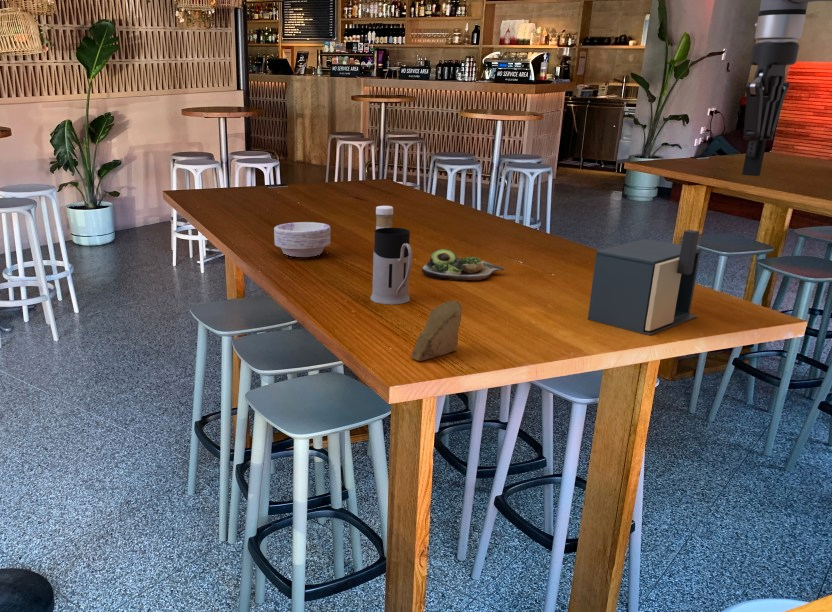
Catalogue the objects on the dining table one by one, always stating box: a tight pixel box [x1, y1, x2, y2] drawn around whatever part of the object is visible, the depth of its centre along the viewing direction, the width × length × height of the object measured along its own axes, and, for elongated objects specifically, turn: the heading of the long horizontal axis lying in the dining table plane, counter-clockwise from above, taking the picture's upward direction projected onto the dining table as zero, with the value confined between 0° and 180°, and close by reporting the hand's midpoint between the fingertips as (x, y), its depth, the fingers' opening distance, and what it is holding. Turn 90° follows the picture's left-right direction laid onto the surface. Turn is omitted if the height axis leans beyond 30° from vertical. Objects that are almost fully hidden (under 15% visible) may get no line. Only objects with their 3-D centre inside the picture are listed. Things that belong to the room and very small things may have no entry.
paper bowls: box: [273, 221, 331, 257], centre depth 213 cm, size 15×15×8 cm
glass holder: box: [369, 227, 413, 305], centre depth 169 cm, size 9×14×15 cm, turn 18°
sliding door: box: [645, 229, 700, 331], centre depth 149 cm, size 3×9×18 cm, turn 129°
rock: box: [410, 300, 463, 362], centre depth 140 cm, size 11×9×10 cm
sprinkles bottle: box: [375, 205, 394, 230], centre depth 209 cm, size 5×5×13 cm
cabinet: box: [587, 238, 702, 336], centre depth 158 cm, size 14×18×14 cm
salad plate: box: [421, 248, 506, 281], centre depth 195 cm, size 19×18×5 cm
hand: (750, 174), depth 152 cm, fingers closed
